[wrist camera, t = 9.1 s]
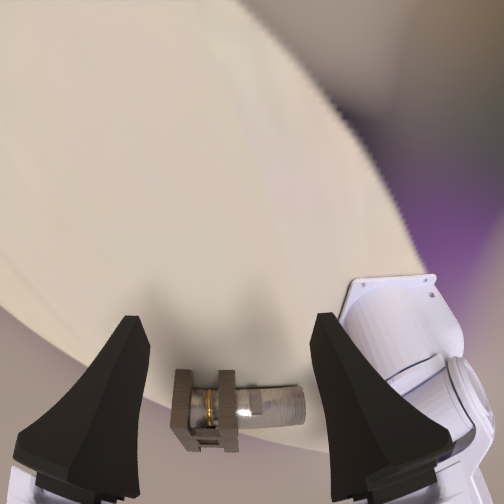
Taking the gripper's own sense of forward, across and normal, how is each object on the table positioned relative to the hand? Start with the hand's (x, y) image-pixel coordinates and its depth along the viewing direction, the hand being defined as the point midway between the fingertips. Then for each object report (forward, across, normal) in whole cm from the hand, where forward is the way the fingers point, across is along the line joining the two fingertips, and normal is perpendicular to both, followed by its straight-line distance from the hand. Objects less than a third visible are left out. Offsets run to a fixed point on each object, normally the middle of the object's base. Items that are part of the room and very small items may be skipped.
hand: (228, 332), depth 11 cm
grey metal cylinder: (+10, 0, +25) cm, 27 cm away
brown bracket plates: (+10, +4, +25) cm, 27 cm away
